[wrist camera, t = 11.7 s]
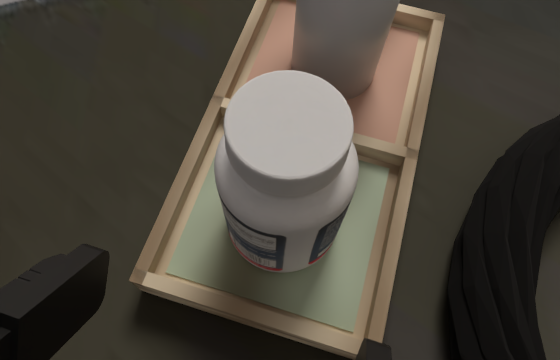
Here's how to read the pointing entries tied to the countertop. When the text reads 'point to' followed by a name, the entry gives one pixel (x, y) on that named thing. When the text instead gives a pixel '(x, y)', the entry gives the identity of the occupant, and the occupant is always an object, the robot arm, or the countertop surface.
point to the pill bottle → (286, 169)
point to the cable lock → (505, 252)
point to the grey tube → (341, 40)
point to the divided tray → (355, 226)
